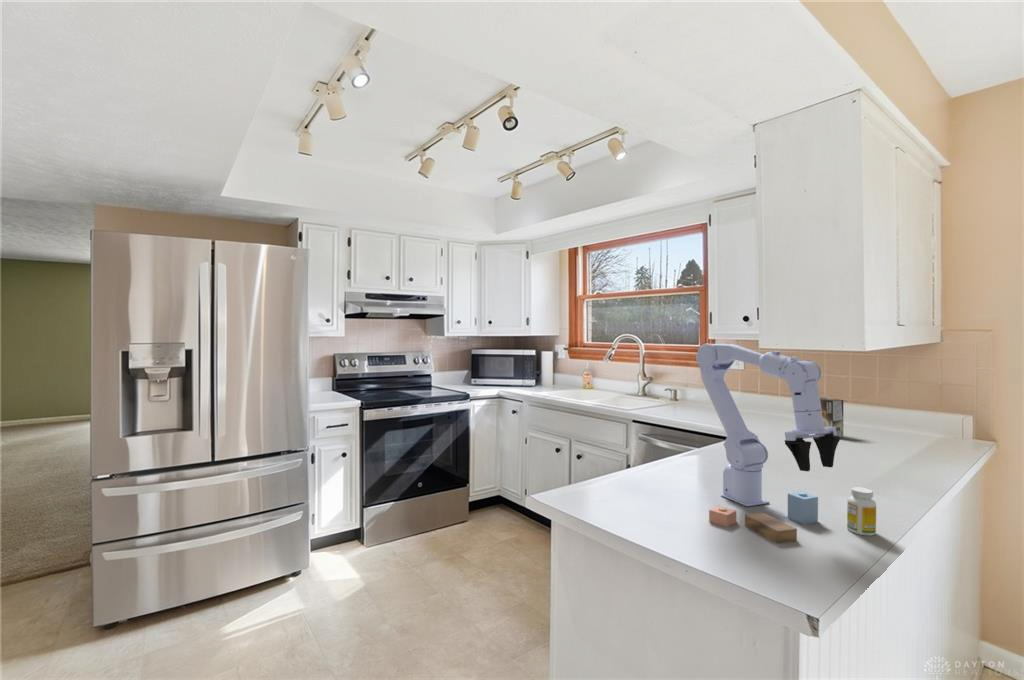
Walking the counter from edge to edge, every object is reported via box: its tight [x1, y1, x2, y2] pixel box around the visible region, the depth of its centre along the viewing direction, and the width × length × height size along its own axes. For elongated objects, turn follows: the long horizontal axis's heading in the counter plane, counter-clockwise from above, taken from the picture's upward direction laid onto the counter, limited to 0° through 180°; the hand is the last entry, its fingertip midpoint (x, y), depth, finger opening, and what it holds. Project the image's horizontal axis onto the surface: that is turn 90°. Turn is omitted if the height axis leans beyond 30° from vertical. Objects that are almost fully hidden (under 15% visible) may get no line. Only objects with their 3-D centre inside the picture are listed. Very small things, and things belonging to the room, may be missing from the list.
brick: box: [708, 505, 737, 528], centre depth 118 cm, size 4×4×3 cm
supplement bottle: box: [846, 486, 877, 536], centre depth 111 cm, size 5×5×10 cm
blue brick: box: [787, 490, 819, 525], centre depth 119 cm, size 4×4×6 cm
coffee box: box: [820, 397, 844, 438], centre depth 212 cm, size 9×6×16 cm
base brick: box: [744, 512, 798, 544], centre depth 111 cm, size 10×5×3 cm, turn 14°
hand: (816, 468), depth 115 cm, fingers open, 7 cm apart
